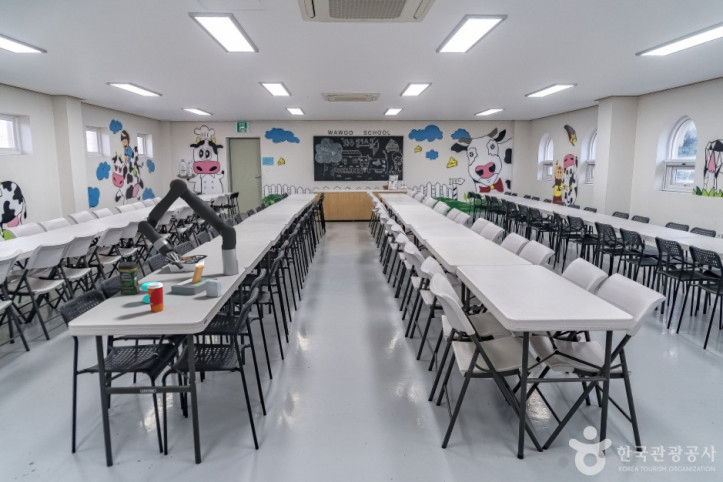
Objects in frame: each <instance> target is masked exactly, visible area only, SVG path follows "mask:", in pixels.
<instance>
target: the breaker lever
mask: <svg viewBox="0 0 723 482" xmlns="http://www.w3.org/2000/svg"><path fill="white" fill-rule="evenodd" d="M204 267H205V266H204V265H199V266H196V268H195V271H193V275H192V278H193V279H192V282H191V284H196V283H199V282H200V278H201V277H202V274H203V271H204Z"/></svg>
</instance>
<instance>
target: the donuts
mask: <svg viewBox="0 0 723 482" xmlns="http://www.w3.org/2000/svg"><path fill="white" fill-rule="evenodd" d="M157 282H158V283H159V281H149V282H145V283H143V284H142V285H141V286H140V288H141V289H140V290H142V291H144V292H148V288H147V285H148V284H150V283H157ZM142 302H143V303H144V304H150V300H149V294H146V295H144V296H143V297H142Z"/></svg>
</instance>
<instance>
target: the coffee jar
mask: <svg viewBox="0 0 723 482" xmlns="http://www.w3.org/2000/svg"><path fill="white" fill-rule="evenodd" d="M117 269H118V270H117V271H118V274H119V276H120V289H119V291H120V294H121V295H127V296H130V295H136V294H139V293H140V291H141V289H140V285H139V280H138V273H137V271H138V265H137V263H136V261H122V262H120V263H118V266H117Z"/></svg>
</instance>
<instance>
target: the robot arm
mask: <svg viewBox="0 0 723 482" xmlns="http://www.w3.org/2000/svg"><path fill="white" fill-rule="evenodd" d="M179 198H180V199H181V200H183V201H184V202H185V203H186V205H188V207H189V208H191V210H192V211H193V212H194V213H195V214H197V215H198V216H199V217H200V218H201V219H202V220H203V221H204V222H206V223H207V224H209V225H210V226H211V227H212V228H213V229H214V230H215V231H216V232H217V233H218V235H219V236H220V237H221V239H222V241H221V242H222V243H221V246H220V248H221V258H222V259H221V260H222V273H223V275H224V276H235V275H237V274H239V261H238V259H237V247H236V246H237V231H236V229H235V227H234V226H233V225H229V224H228V223H227V222H225V221H224V220H223V219H221V218H220V217H219V215H218V214H217V213H216V211H215V210H214V208H212V206H211V205H210V204H208V203H207V202H206V201H205V200H204V199H202V198H201V197H199V195H197V194H195V193H194V192H192V191H191V190H190V189H189V187H188V185H187V182H186V181H184V180H183V179H179V178H175V179H172V180H171V181H170V182H169V191H168V192H167V193H166V195H164V197H163V198H162V199H160V201H159V202H157V204H155V206H154V207H153V208H152V209H151V211H150V212H149V213H148V216H147V217H148V218H147V220H141V221H139V222H138V224H137V229H138V231H139V232H140V233H141V234H142V236H144V237H145V238H146V239H148V241H149V242H150V243H151V244H152V246H153V247H154V249H155V250H156V251H157V252H158V253H159V254H160V255H161V256H162V257H163V258H164V262H165V263H167V264H168V263H169V264H171V265H176V266H177V267H178V268H179V269H183V267H184V266H183V265H182V264H181V263H180V262H181V261H182V259H181V257H182V254H181V253H179V254H178V253H176V251H175V250H174V247H173V246H172V245H171V244H170V243H169V242H168V241H167V240H166V238H164V237H163V236H162V235H161V234H160V233H159V232H158V231H156V230H155V229H156V227H157V226H158V223H159V221H160V220H161V219H162V218H163V217H164V215H165V214H166V213H167V211H168V210H169V209H170V208H171V206H172V205H174V203H175V202H176V201H177V200H178V199H179ZM169 264H168V265H169Z"/></svg>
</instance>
